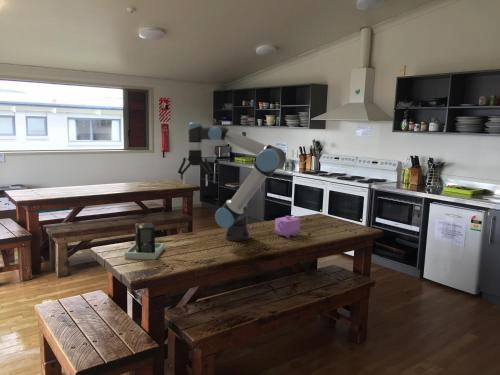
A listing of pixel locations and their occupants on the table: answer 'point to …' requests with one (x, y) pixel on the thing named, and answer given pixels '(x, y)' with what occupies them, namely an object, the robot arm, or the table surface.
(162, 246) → the tray
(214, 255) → the table surface
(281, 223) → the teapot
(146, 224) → the tampon box
